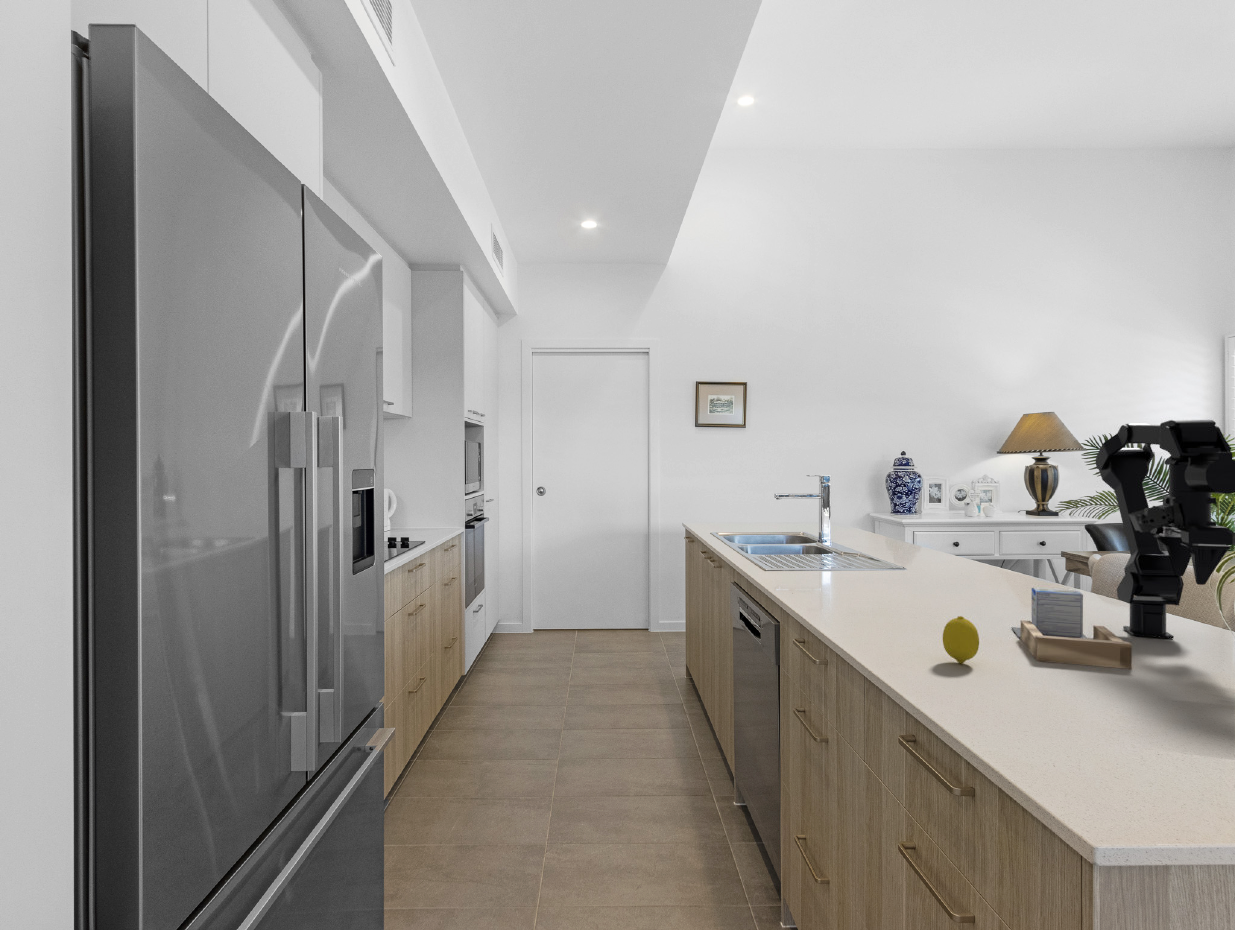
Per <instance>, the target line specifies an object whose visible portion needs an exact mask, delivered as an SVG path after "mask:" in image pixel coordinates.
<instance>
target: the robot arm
mask: <svg viewBox="0 0 1235 930" xmlns="http://www.w3.org/2000/svg"><path fill="white" fill-rule="evenodd" d="M1118 429H1119V430H1118V431H1117V433H1116V434H1115V435H1113V436H1111V437H1110V438H1108V439H1107V440H1106V441H1104V442H1103V443H1102V444H1101V447H1100V448H1099V450H1098V452H1097V454H1096V456H1095V457H1096V458H1095V465H1096V468H1097V470H1098V471H1099V474H1100V476H1101V480H1102V481H1103V482H1104V483H1105V484H1106V485H1108V487H1110V488H1111V489H1112V490H1113V491H1114V493H1115V498H1116V502H1117V506H1118V509H1119V513H1120V514H1119V515H1120V518H1121V522H1122V526H1123V529H1124V534H1125V537H1126V541H1127V546H1128V550H1129V553H1130V555H1129V558H1128V561H1127V563H1126V564H1125V567H1124V576H1123V578H1122V579H1121V581H1120V582H1119V584H1118V586H1117V588H1116V594H1117V599H1118V600H1119V601H1122V602H1124V603H1126V604H1129V625H1128V626H1127V625H1123V627H1122V629H1123V630H1124V631H1126V632H1128V633H1129V634H1131V635H1132V636H1135V637H1136V636H1137V637H1147V638H1149V637H1150V638H1162V639H1174V635H1173V634H1171V633H1169V632H1168V631H1167V605H1168V606H1169V605H1172V606H1179V605H1180V601H1181V599H1182V594H1183V593H1182V592H1183V591H1184V590H1183V589H1184V585H1185V584H1184V580H1183V577H1184V575H1185V573H1186V571H1187V568H1188V566H1189V564H1190V560H1191V563H1192V569H1193V574H1194V579H1195V584H1197V585H1199V586H1201V585H1202V586H1204V585H1206V584H1207V582H1208V581H1209V579H1210V578H1211V576H1212V574H1213V573H1214V571H1215V569H1216V568H1217V567H1218V565H1219V563H1220V562H1221V560H1222V559H1223V558H1224V556H1225V555H1226V554H1227V552H1228V551H1229V550H1231V549H1232V546H1235V532H1234V531H1233V530H1232V529H1230V528H1229V527H1227V526H1222V525H1217V521H1213V520H1212V505H1213V504H1215V505H1216V504H1217V497H1212V494H1224V495H1229V494H1230V495H1231V494H1234V493H1235V459H1233V452H1232V451H1231V450H1232V446H1230V443H1228V441H1227V440H1226V439H1225V437H1224V435H1223V432H1222V430H1221V428H1220V427H1219V426H1218V425H1217V423H1216V422H1215V421H1214V420H1213V419H1171V420H1166V421H1164V422H1163V421H1162V422H1161V423H1160V424H1150V423H1125V424H1123V425H1121V426H1120V427H1119V428H1118ZM1127 444H1135V445H1137V444H1143V446H1142V448H1140V447H1126V446H1127ZM1152 445H1156V446H1157V445H1158V446H1159V448H1160V449H1161V450H1163V451H1166V452H1168V454H1169V455H1170V456H1169V457H1167V458H1166V459H1165V460H1164V465H1165V466H1168V472H1169V473H1168V490H1169V491H1168V495H1165V496H1164V497H1163V499H1162V504H1159V505H1152V507H1150V506H1149V503H1148V500H1147V496H1146V492H1145V489H1144V482H1145V479H1146V477H1147V475H1148V473H1149V465H1150V464H1151V462H1152V460H1153V459H1154V457H1155V454H1154V452H1153V449H1152V447H1151V446H1152ZM1159 542H1161V544H1163V545H1164V546H1165V548H1166V551H1167V554H1166V553H1164V552H1163V551H1162V550H1161V547H1160V543H1159Z"/></svg>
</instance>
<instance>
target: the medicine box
mask: <svg viewBox="0 0 1235 930" xmlns="http://www.w3.org/2000/svg"><path fill="white" fill-rule="evenodd" d="M1031 622H1032V624H1033V625H1034V626H1035V627H1036V628H1037V629H1038V630H1039V631H1040V633H1041V634H1043V635H1056V636H1070V637H1083V634H1084V594H1083V593H1081V592H1080V591H1079V590H1077V589H1069V588H1054V587H1031Z"/></svg>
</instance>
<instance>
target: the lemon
mask: <svg viewBox="0 0 1235 930" xmlns="http://www.w3.org/2000/svg"><path fill="white" fill-rule="evenodd" d="M942 631H943V632H942V644H943V649H944V651H945V652H946V653H947V655H948V656H950V658H953V659H954V660H956V662H957V663H958V664H961V665H963V664H964V663H966V661H970V660H971V659H973V658H975V656H976V655H977V653H978V651H979V648H980V647H979V646H980V636H979V633H978V629H977V627H976V626H975V624H974V623H972V622H971V621H970V620H969V619H966V618H965V617H964V616H962V615H960V616H957V617H956V618H953V619H951V620H949V621H948V622H946V624H945V626H944V628H943V630H942Z"/></svg>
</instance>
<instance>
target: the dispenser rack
mask: <svg viewBox="0 0 1235 930" xmlns="http://www.w3.org/2000/svg"><path fill="white" fill-rule="evenodd" d="M1092 626H1093V627H1092V628H1093V630H1092V632H1093V634H1092V635H1093V636H1092V638H1091V637H1087V638H1083V637H1070V636H1056V635H1043V634H1041V633H1040V631H1039V630H1038V629H1037V628H1036V627H1035V626H1034V625H1033V624H1032V620H1023V619H1021V620H1020V628H1021V638H1020V640H1021V639H1022V640H1021V641H1022V642H1023V644H1024V643H1025V644H1024V645H1025V647H1026V648H1027V649H1028V651H1029V652H1030V653H1031V654H1032V656H1033V657H1034V658H1035V660H1036V661H1038V662H1049V663H1061V664H1068V665H1069V664H1070V665H1071V664H1072V665H1083V666H1091V667H1092V666H1093V667H1104V668H1107V667H1108V668H1115V669H1116V668H1118V669H1129V670H1130V669H1131V670H1132V668H1133V667H1132V666H1133V665H1132V660H1133V659H1132V657H1133V656H1132V647H1133V646H1132V643H1130V642H1129V641H1124V640H1123V639H1121V638H1120V637H1119V636H1117V635H1116V634H1114V633H1113V632H1112V631H1111V630H1109V629H1108V628H1107V627H1106V626H1105V625H1095V624H1094V625H1092Z"/></svg>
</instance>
